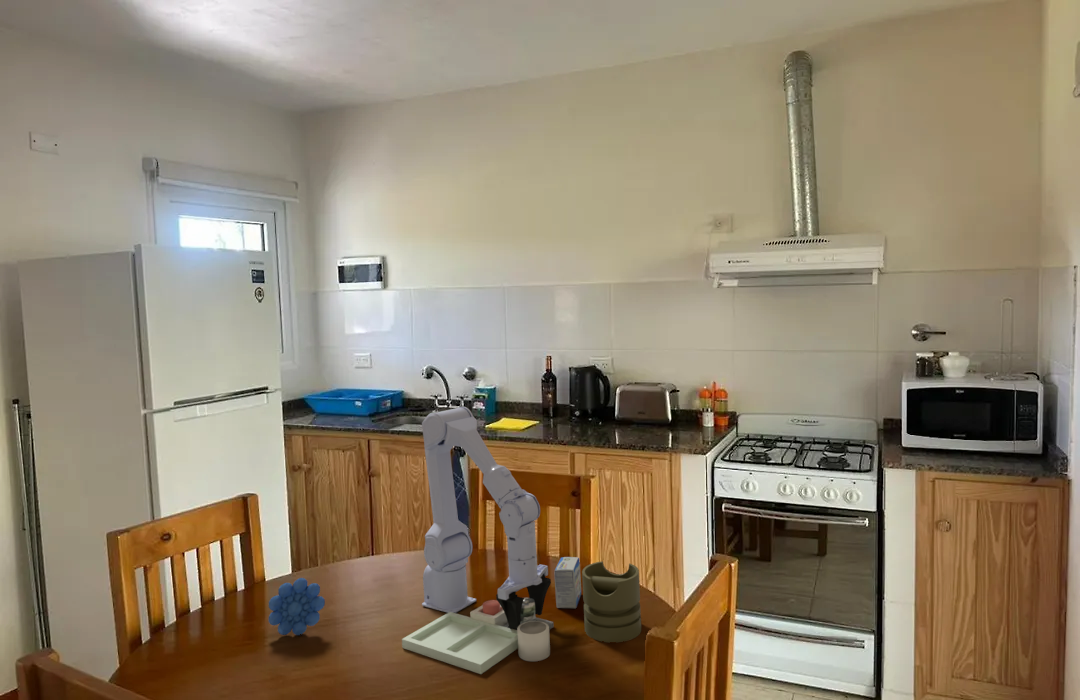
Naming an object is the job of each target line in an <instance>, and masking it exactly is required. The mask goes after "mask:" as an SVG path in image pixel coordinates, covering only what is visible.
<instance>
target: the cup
mask: <svg viewBox="0 0 1080 700" xmlns="http://www.w3.org/2000/svg"><path fill="white" fill-rule="evenodd" d="M517 634H518V648H517V650H518V651H517V653H518V657H519V658H520V659H521V660H523V661H526V662H538V661H539V662H540V661H543V660H545V659H547V658H548V657H550V655H551V645H550V644H551V643H550V640H551V639H550V630H549V626H548V624H546V623H544V622H541V621H528V622H524V623H522V624H520V625H519V626H518V628H517Z"/></svg>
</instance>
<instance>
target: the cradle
mask: <svg viewBox="0 0 1080 700" xmlns="http://www.w3.org/2000/svg"><path fill="white" fill-rule="evenodd" d="M536 621H541V622H544V623H546V624H548V626H549V631H550V630H551V629H553V628H554V627H555V626H554V625H555V624H554V621H551V620H547V619H543V618H540V617H536ZM503 627H506V628H510V627H509V624H508V623H507V624H505V625H504V626H503Z"/></svg>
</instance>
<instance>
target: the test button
mask: <svg viewBox="0 0 1080 700" xmlns="http://www.w3.org/2000/svg"><path fill="white" fill-rule="evenodd" d="M482 605H483V613H485V614H489V615H492V616H494V615H495V614H497V613H498V612H500V604H499V602H498V601H497V599H489V600H486V601H484V602H483V603H482Z"/></svg>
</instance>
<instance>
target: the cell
mask: <svg viewBox="0 0 1080 700" xmlns="http://www.w3.org/2000/svg"><path fill="white" fill-rule="evenodd" d="M523 598H524V601H523V604H522V608H521V622H520V624H522V623H524V622H528V621H536V618H537V617H536V614H535V613H536V611H535V600H534V599H532V598H529V597H523Z"/></svg>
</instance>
